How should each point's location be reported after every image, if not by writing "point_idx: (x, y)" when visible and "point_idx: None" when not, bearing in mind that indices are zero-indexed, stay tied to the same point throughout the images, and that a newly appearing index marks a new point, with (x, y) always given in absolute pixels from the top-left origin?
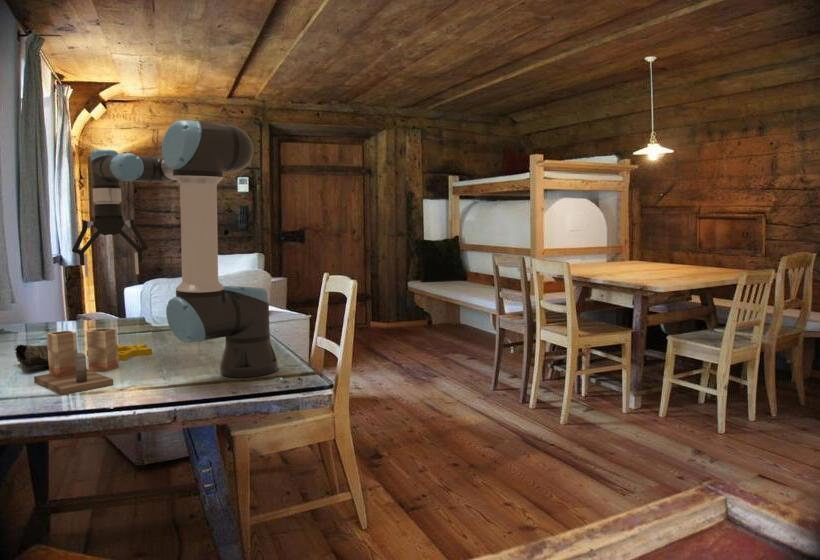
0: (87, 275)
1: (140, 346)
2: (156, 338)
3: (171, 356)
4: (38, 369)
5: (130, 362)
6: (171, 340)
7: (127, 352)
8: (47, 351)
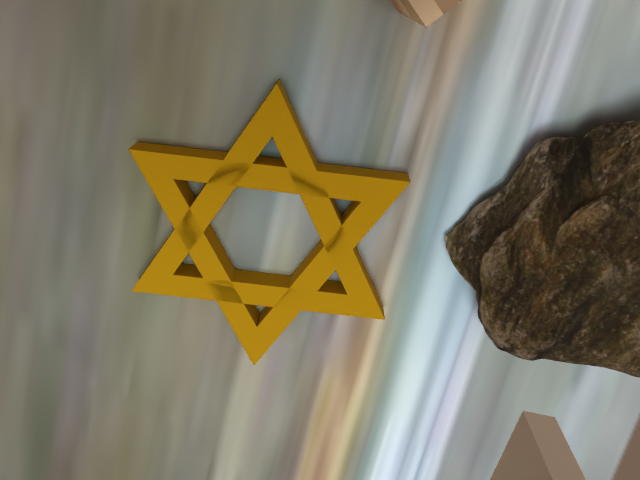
0: (536, 427)
1: (166, 244)
2: (64, 467)
3: (62, 6)
4: None
5: (267, 8)
6: (12, 389)
7: (249, 137)
8: (617, 188)
